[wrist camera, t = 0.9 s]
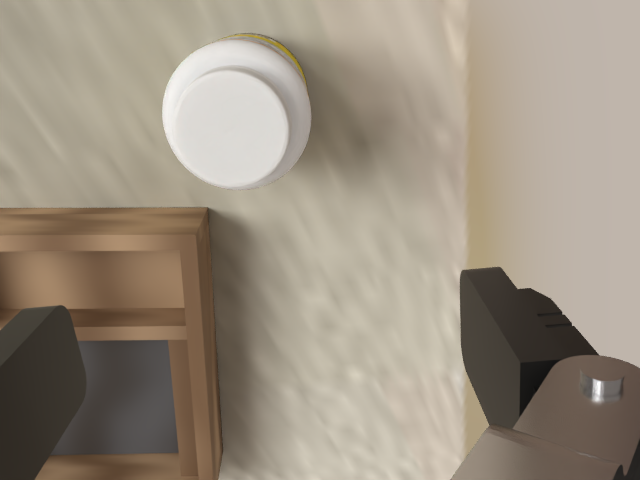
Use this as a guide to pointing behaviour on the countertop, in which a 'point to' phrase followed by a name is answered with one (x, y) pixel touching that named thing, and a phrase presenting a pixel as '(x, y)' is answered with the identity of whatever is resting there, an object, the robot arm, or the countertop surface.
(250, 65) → the supplement bottle
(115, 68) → the countertop surface
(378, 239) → the countertop surface
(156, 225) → the walnut crate
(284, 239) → the countertop surface
